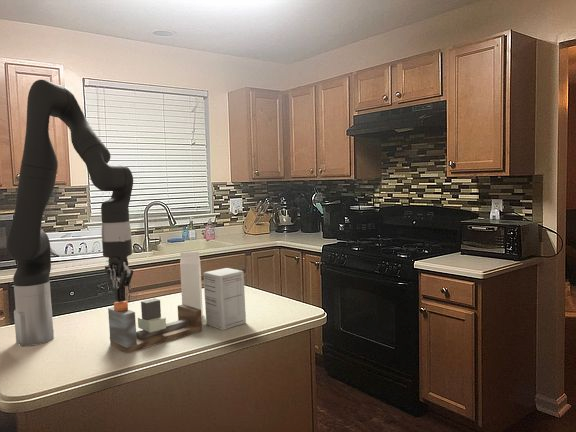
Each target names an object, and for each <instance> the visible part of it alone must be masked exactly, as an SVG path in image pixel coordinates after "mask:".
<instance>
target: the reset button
mask: <svg viewBox="0 0 576 432" xmlns="http://www.w3.org/2000/svg"><path fill="white" fill-rule="evenodd" d="M113 307H114V311H125V310H129V303H128V300H125V301H123V302H117V301H115V302H113Z"/></svg>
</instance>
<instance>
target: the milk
mask: <svg viewBox="0 0 576 432" xmlns="http://www.w3.org/2000/svg"><path fill="white" fill-rule="evenodd" d="M201 268H202V267H201V258H200V252H199V251H192V252H191V251H188V252H187V251H186V252H181V253H180V262H179V269H180V271H179V272H180V286H181V287H180V289H181V290H180V292H181V305H182V304H184V305H187V306H190V307H194V308H197V309H200V310H201V318H202V319H203V316H204V310H203V309H204V308H203V306H204V305H203V289H202V270H201Z"/></svg>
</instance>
